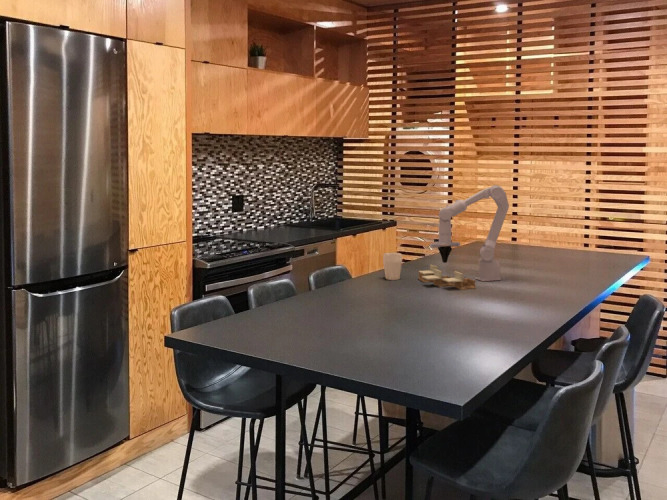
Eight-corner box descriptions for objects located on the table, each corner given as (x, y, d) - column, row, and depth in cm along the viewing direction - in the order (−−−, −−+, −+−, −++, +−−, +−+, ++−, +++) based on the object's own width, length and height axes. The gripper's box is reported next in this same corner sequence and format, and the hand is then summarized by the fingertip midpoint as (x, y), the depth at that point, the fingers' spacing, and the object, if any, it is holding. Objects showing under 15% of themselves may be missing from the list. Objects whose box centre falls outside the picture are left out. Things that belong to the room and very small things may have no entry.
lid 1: (431, 271, 319) (431, 264, 319) (437, 273, 312) (437, 266, 312) (418, 272, 317) (418, 265, 317) (424, 274, 311) (424, 267, 310)
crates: (447, 277, 321) (447, 270, 321) (475, 288, 294) (475, 280, 293) (418, 279, 318) (418, 272, 317) (443, 290, 290) (443, 283, 290)
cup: (401, 280, 316) (400, 255, 314) (382, 280, 318) (381, 255, 316) (403, 277, 325) (402, 252, 323) (384, 276, 327) (384, 252, 325)
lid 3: (456, 278, 298) (456, 271, 298) (463, 281, 292) (463, 273, 292) (442, 279, 297) (442, 272, 296) (448, 282, 290) (448, 274, 290)
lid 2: (435, 276, 306) (435, 269, 305) (442, 278, 299) (442, 271, 299) (421, 277, 304) (421, 269, 303) (427, 279, 297) (427, 272, 297)
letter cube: (428, 279, 317) (428, 273, 317) (432, 280, 315) (432, 274, 314) (423, 280, 316) (423, 274, 316) (427, 281, 313) (427, 275, 313)
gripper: (455, 232, 320) (455, 260, 322) (427, 233, 317) (427, 261, 318) (462, 233, 313) (461, 262, 315) (433, 235, 310) (433, 264, 312)
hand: (444, 262), depth 316 cm, fingers closed
